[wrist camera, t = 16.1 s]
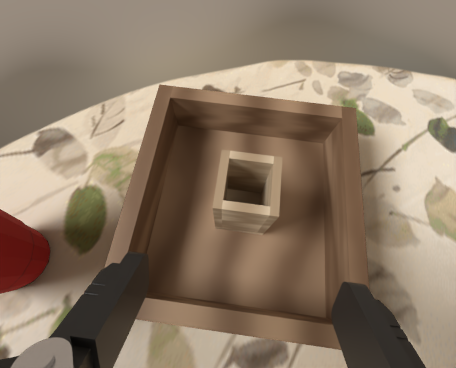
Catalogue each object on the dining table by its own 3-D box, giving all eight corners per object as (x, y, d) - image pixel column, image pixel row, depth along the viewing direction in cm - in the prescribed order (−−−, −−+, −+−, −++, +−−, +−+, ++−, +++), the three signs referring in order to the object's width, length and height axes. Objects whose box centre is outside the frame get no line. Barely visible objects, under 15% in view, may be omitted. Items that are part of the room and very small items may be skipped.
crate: (121, 304, 24) (90, 312, 18) (170, 118, 32) (159, 84, 26) (337, 336, 23) (374, 354, 17) (331, 138, 31) (355, 108, 25)
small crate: (215, 228, 26) (212, 207, 18) (222, 184, 27) (221, 149, 20) (262, 234, 25) (279, 216, 18) (266, 190, 27) (282, 157, 20)
